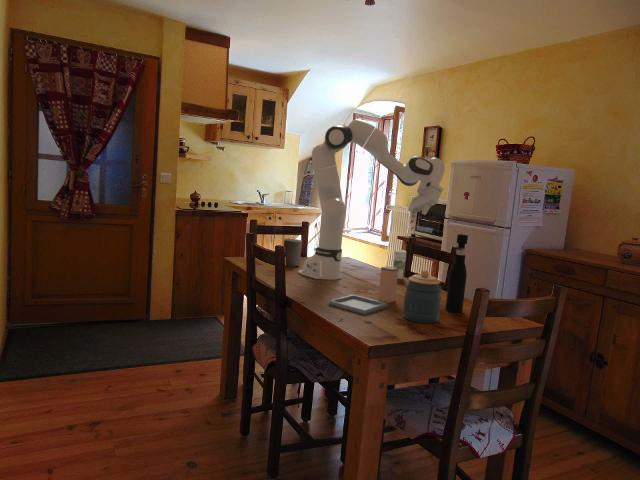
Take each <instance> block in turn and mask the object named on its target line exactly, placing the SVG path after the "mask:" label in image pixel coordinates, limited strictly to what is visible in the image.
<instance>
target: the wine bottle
mask: <svg viewBox="0 0 640 480" xmlns="http://www.w3.org/2000/svg"><path fill="white" fill-rule="evenodd" d="M468 238H469V235H467V234H463V233H462V234H460V233H459V234H457V236H456V244H457V249H456V252H455V254H454V255H455V256H454V262H453V263H452V265H451V268H450V272H449V276H448V284H447V292H446V293H447V294H446V300H445V311H446V312H449V313H453V314H462V313H463V309H464V301H465V293H466V284H467V268H466V267H467V266H466V262H465V261H466V250H465V247H466V245H467V244H468Z"/></svg>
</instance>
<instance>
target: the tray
mask: <svg viewBox="0 0 640 480" xmlns="http://www.w3.org/2000/svg"><path fill="white" fill-rule="evenodd" d="M330 305H331V307H334V308H338V309H341V310H345V311H347V312H348V311H349V312H352V313H355V314H359V315H362V316H366V315H370V314H372V313H375V312H378V311H381V310H384V309H387V308H388V302H384V301H380V300H376V299H372V298H368V297H365V296H361V295H357V294H350V295H346V296H341V297H337V298H334V299H329V301H328V306H330Z"/></svg>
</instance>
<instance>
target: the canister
mask: <svg viewBox="0 0 640 480" xmlns="http://www.w3.org/2000/svg"><path fill="white" fill-rule="evenodd" d="M407 279H408V280H409V281H408V282H406V283H404V284H405V288H406V289H405V292H404V293H403V294H404V301H403V308H402V317H403V318H404V319H406V320H408V321H411V322H415V323H422V324H433V323H437V322H438V321H439V318H440V307H441V306H440V305H441V300H442V297H441V291H443V287H442V286H440V284H441V281H440V280H439V279H438V277H435V276H433V275H430V274H429V271H428V270H425V269H424V270H422V271H421V273H420V274H418V273H417V274H413V275H411V276H409V277H408V278H407Z"/></svg>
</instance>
